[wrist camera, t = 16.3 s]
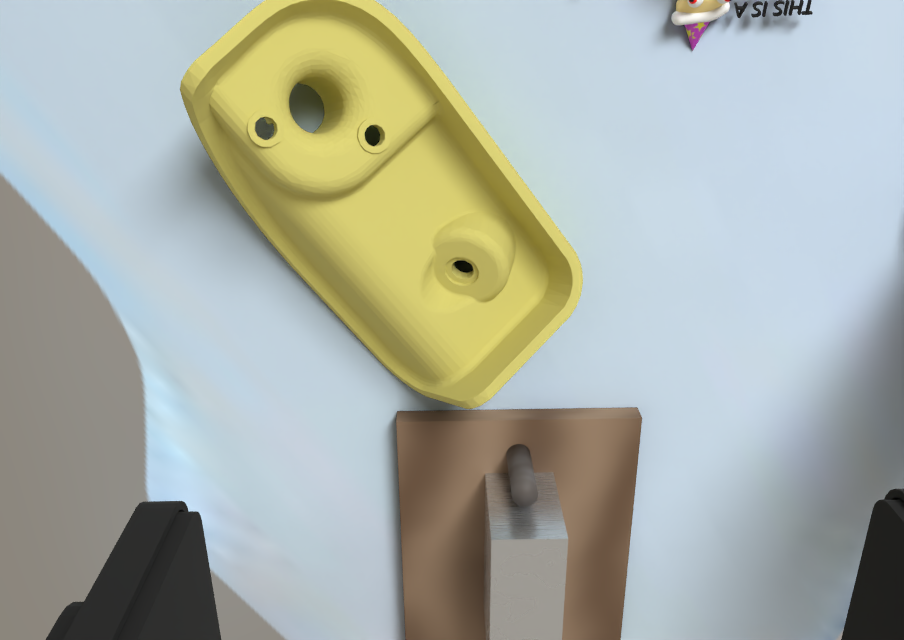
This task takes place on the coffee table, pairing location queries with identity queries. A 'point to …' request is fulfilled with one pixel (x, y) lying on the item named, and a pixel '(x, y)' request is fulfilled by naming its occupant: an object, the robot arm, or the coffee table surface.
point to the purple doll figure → (719, 14)
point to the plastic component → (385, 194)
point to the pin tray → (521, 455)
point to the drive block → (524, 562)
